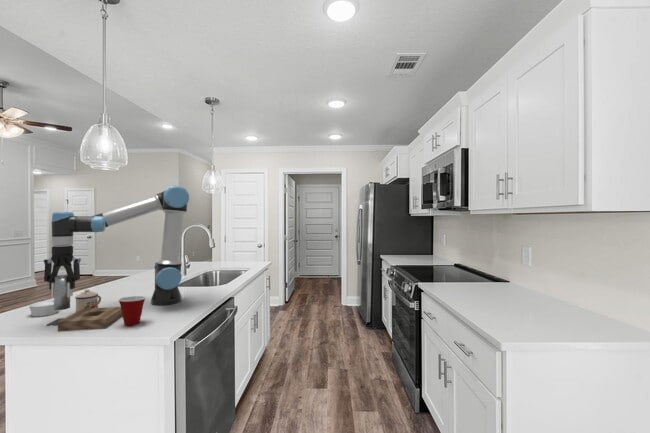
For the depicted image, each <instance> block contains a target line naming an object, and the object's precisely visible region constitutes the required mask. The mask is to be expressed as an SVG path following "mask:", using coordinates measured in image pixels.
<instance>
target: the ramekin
mask: <svg viewBox="0 0 650 433" xmlns="http://www.w3.org/2000/svg"><path fill="white" fill-rule="evenodd" d="M28 308H29V310H30V315H31V316H32V317H34V316H35V318H37V317H39V316H41V317H48V316H52V315H54V314H57V313H58V311H59V310H54V299H53V300H44V301H38V302H35V303H32V304H31V303H30V304H29V306H28ZM47 315H48V316H47ZM39 318H40V317H39Z"/></svg>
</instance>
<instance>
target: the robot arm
mask: <svg viewBox="0 0 650 433" xmlns="http://www.w3.org/2000/svg"><path fill="white" fill-rule="evenodd" d="M189 200H190V194H189V192H188V189H186V188H185V187H183V186H181V185H177V184H176V185H170V186H168V187H166V189H165V190H164V191H161V192H159V193H156V194H154V196H153V197H149V198H146V199H142V200H139V201H136V202H134V203H129V204H127V205H126V204H125V205H123V206H121V207H116V208H115V209H114V208H113V209H110V210H108V211H103V212H101V213H98V214H94V215H90V216H89V215H87V216H86V215H85V216H84V215H83V216H82V215H80V216H79V215H74V212H73V211H54V212H52V215H51V257H50V258H47V259H43V263H44V273H43V274H44V277H43V281H44V282H48V284H49V290H50V291H51V296H50V297H51V298H54V276H56V275H59V274H58V273H59V271H60V269H61V267H63V268H64V269H65V272H66V274H67V275H68V278H69V282H68V283H67V297H70V298H71V297H72V296H73V295H74V289H75V288H76V282H77V281H79V280H81V271H80V269H81V268H80V263H81V260H82V258H80V257H79V258H77V257H74V246H73V245H74V233H103V232H105V230H106V228H108V227H111V226H114V225H117V224H120V223H123V222H127V221H129V220H132V219H135V218H139V217H142V216H144V215H147V214H151V213H153V212H157V211H163V213H164V224H163V232H162V244H161V252H160V254H161V255H160V259H159V260H158V261H156V262H155V263H154V290H153V293H152V296H151V298H150V304H151V305H153V306H167V305H172V304H173V305H174V304H177V303H179V302H181V301H182V294H181V291H180V289H179V285H180V283H181V281H182V276H183V275H182V261H181V260H180V252H181V243H182V242H181V241H182V232H183V231H182V230H183V219H184V215H185V214H186V213H187V210H188V203H189ZM72 263H73V265H72ZM52 264H53V266H52ZM72 266H73V267H72Z"/></svg>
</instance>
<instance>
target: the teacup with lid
mask: <svg viewBox="0 0 650 433" xmlns="http://www.w3.org/2000/svg"><path fill="white" fill-rule="evenodd" d="M74 298H75V313H76V312H78V311H80V310H81V309H89V308H99V307H98V306H99V305H100V304H101V302H102V297H101V295H99V293H98V292H94V291H91V290H90V289H88V288H87V289H84V290H83V292H80V293H79V294H76V295H75V297H74Z"/></svg>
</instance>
